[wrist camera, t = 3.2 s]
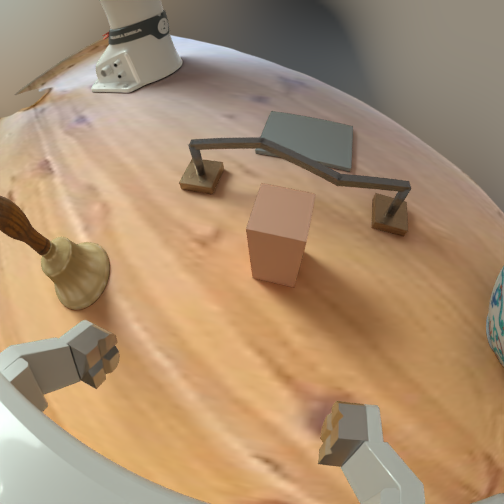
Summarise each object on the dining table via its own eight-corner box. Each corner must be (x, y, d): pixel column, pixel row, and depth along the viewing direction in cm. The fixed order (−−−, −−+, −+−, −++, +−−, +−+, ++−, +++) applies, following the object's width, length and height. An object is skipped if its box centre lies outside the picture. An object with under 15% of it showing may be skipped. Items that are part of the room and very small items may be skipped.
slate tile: (255, 153, 33) (255, 149, 33) (271, 114, 37) (271, 111, 37) (350, 171, 31) (351, 168, 31) (351, 129, 35) (352, 126, 35)
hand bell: (122, 257, 28) (35, 158, 14) (87, 323, 25) (-28, 260, 10) (78, 234, 30) (2, 150, 15) (47, 291, 26) (-46, 226, 12)
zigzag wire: (181, 189, 31) (167, 153, 26) (194, 165, 33) (183, 129, 28) (403, 236, 27) (427, 205, 22) (402, 207, 29) (422, 175, 24)
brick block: (252, 277, 26) (246, 228, 18) (263, 241, 28) (261, 183, 20) (294, 287, 26) (306, 241, 17) (302, 250, 27) (315, 193, 19)
